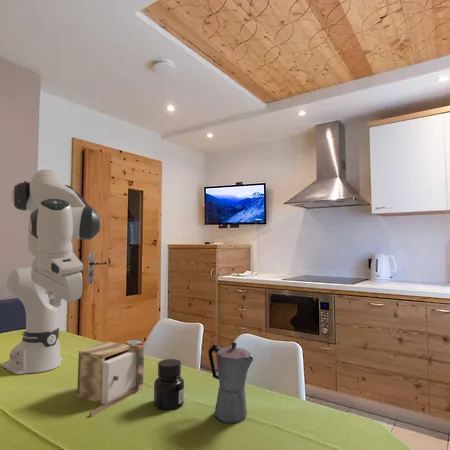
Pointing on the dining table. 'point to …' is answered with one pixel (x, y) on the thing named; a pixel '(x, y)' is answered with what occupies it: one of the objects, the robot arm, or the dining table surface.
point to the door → (118, 376)
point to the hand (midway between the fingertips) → (55, 305)
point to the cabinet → (92, 371)
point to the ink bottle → (169, 385)
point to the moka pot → (231, 382)
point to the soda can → (136, 343)
